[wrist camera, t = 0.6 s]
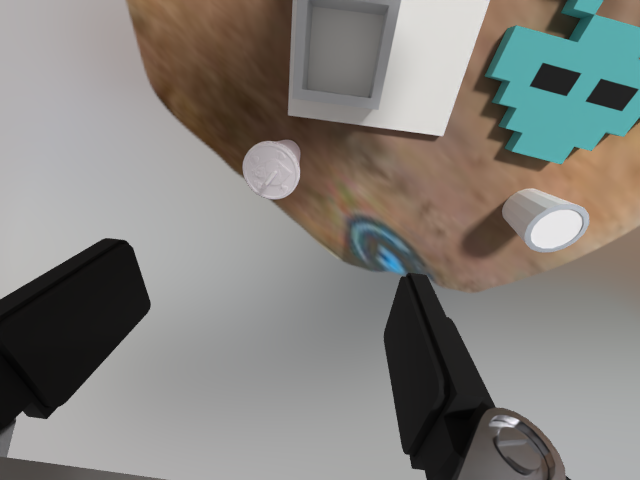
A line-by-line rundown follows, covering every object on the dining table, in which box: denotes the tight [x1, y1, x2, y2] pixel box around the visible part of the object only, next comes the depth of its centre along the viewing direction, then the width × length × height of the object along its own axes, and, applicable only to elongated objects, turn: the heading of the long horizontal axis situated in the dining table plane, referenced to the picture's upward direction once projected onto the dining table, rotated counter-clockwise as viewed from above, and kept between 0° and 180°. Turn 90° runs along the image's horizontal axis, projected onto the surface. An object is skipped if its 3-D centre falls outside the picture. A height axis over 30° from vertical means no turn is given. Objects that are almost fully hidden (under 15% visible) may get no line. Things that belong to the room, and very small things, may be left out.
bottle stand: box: [288, 0, 490, 136], centre depth 28 cm, size 14×20×5 cm
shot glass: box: [502, 189, 589, 252], centre depth 34 cm, size 7×7×7 cm
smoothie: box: [243, 139, 301, 199], centre depth 30 cm, size 6×6×14 cm
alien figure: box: [484, 0, 640, 164], centre depth 28 cm, size 20×2×20 cm
